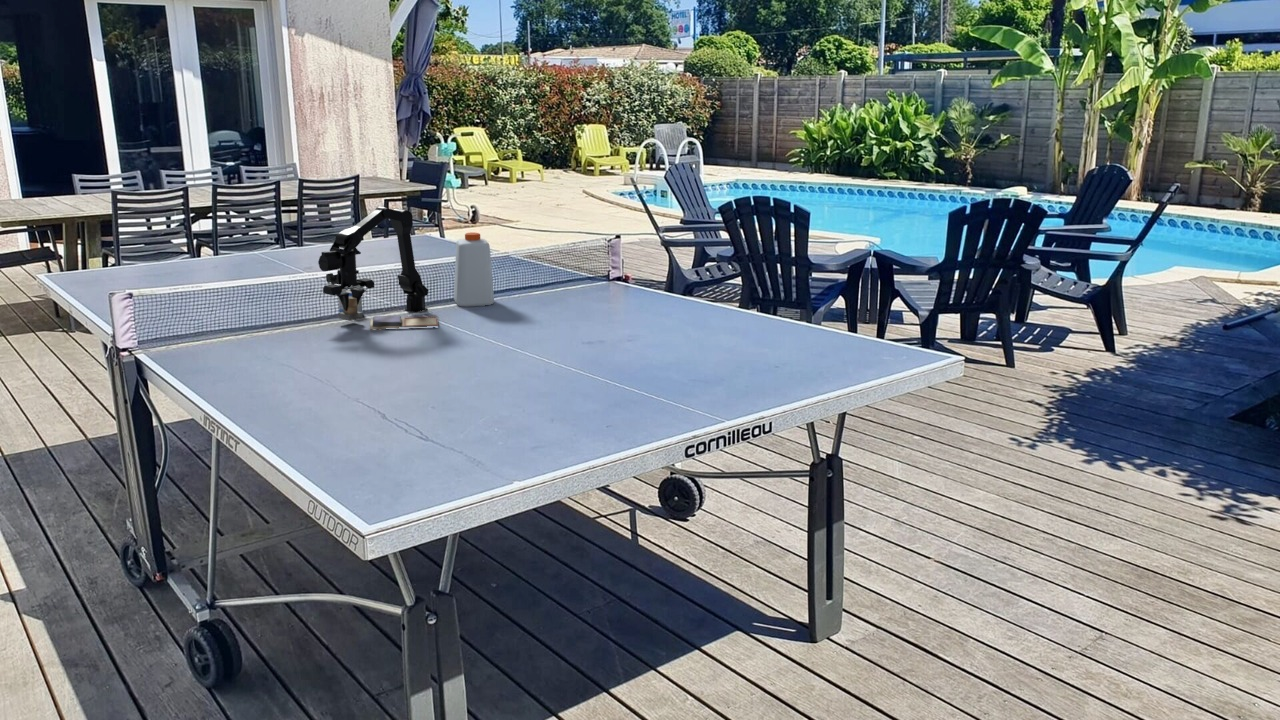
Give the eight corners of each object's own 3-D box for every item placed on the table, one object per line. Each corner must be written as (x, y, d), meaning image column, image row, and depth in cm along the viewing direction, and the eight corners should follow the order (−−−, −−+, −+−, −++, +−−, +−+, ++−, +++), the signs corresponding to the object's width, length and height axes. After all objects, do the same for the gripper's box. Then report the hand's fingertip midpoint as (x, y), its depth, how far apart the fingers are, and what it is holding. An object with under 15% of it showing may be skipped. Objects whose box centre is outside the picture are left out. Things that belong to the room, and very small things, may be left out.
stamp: (352, 315, 370) (351, 295, 368) (362, 317, 367) (361, 297, 365) (338, 318, 366) (337, 297, 363) (349, 320, 362) (348, 300, 360)
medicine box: (338, 313, 382) (337, 290, 379) (347, 310, 386) (346, 288, 383) (354, 316, 378) (353, 293, 376) (363, 313, 382) (361, 291, 380)
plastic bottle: (452, 299, 409) (450, 230, 401) (489, 297, 413) (488, 230, 405) (457, 307, 395) (455, 237, 387) (495, 306, 399) (494, 236, 391)
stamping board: (436, 320, 376) (436, 313, 375) (438, 328, 365) (438, 321, 364) (370, 321, 370) (370, 315, 370) (370, 330, 359) (369, 323, 359)
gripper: (354, 260, 373) (357, 301, 377) (312, 268, 358) (314, 310, 363) (374, 265, 366) (376, 306, 371) (331, 272, 352) (334, 315, 356)
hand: (350, 309), depth 365 cm, fingers closed on stamp, 3 cm apart
